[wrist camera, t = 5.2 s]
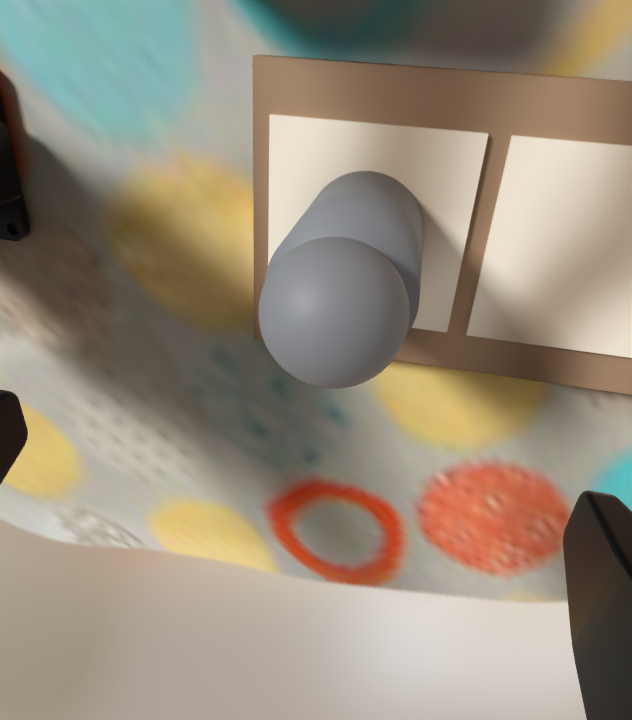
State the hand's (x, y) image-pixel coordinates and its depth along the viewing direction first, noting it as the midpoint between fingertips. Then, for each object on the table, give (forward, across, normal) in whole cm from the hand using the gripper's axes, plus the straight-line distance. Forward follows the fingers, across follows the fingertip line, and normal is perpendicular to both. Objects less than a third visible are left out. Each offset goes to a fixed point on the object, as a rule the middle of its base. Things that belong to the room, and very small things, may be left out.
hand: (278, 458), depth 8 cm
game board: (+13, -8, 0) cm, 15 cm away
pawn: (+12, 0, 0) cm, 12 cm away
